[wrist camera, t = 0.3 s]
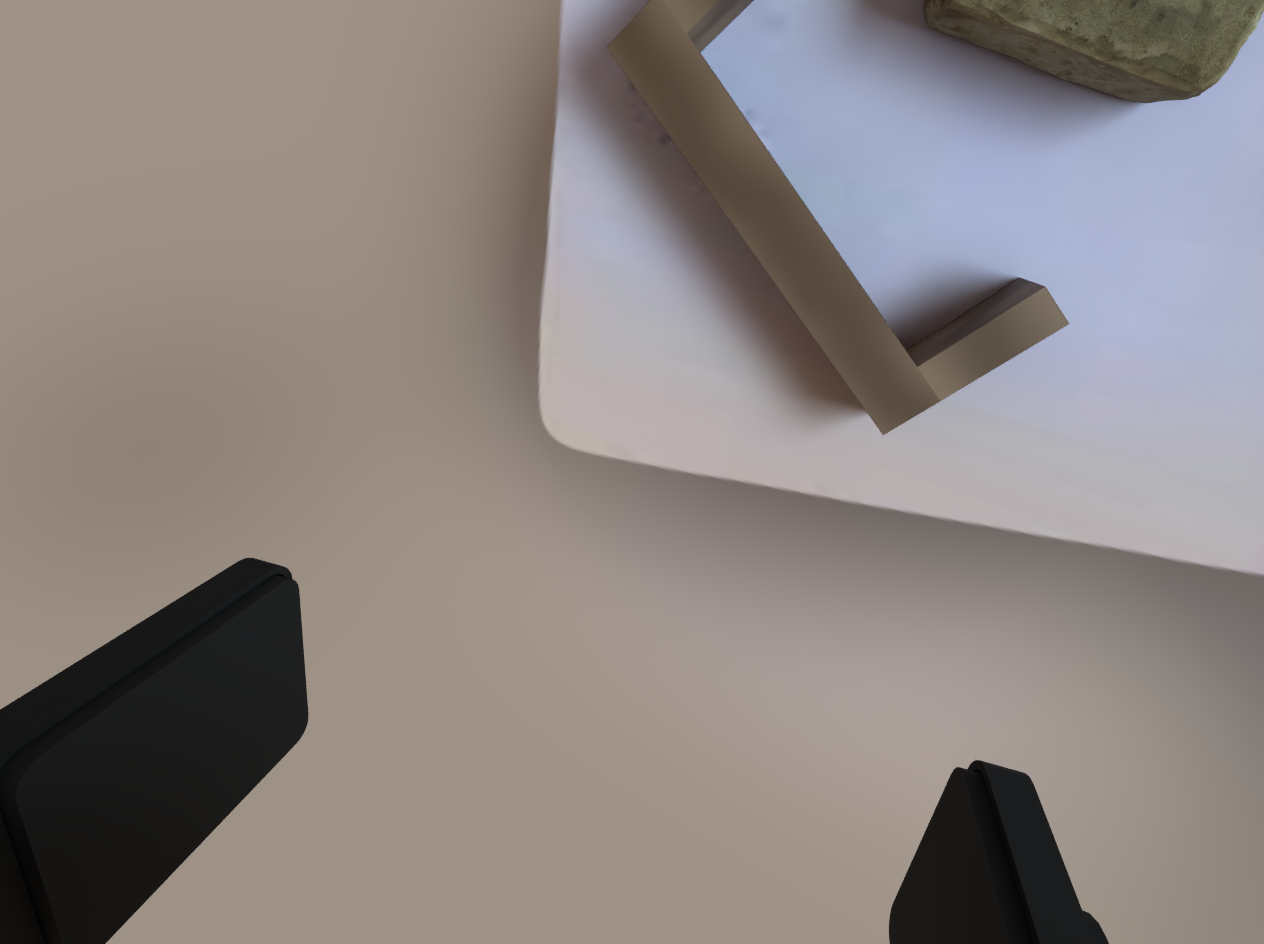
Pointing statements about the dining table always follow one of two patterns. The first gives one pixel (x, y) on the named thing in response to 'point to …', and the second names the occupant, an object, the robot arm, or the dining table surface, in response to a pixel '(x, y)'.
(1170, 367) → the dining table surface
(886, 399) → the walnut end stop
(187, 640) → the robot arm
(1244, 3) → the stone block
